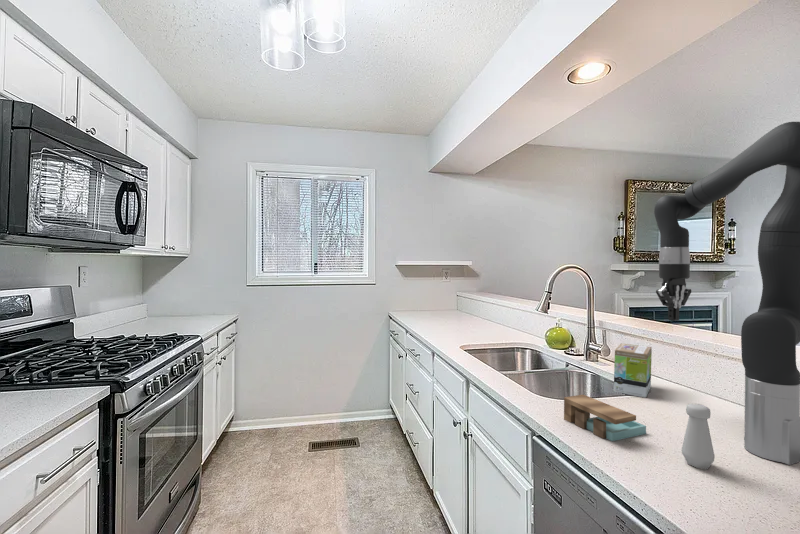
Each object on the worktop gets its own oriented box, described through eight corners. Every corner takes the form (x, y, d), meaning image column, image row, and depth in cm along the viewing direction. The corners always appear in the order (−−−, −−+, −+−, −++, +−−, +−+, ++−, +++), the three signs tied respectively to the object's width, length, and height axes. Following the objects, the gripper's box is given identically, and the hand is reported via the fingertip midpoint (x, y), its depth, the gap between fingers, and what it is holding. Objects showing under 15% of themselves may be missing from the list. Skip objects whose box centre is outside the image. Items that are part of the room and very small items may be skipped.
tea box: (647, 398, 126) (648, 353, 126) (612, 392, 132) (613, 349, 132) (651, 386, 138) (651, 345, 137) (619, 381, 144) (619, 342, 144)
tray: (646, 435, 100) (646, 425, 100) (612, 442, 96) (612, 433, 95) (615, 421, 108) (615, 413, 108) (582, 428, 104) (582, 419, 104)
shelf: (636, 440, 96) (636, 415, 96) (615, 445, 93) (615, 419, 93) (582, 415, 111) (582, 394, 111) (564, 419, 109) (564, 397, 109)
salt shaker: (682, 455, 89) (682, 398, 88) (714, 463, 85) (715, 404, 85) (680, 465, 84) (681, 406, 84) (714, 474, 80) (715, 412, 80)
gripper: (672, 262, 109) (671, 323, 109) (702, 262, 114) (701, 321, 114) (646, 262, 116) (646, 319, 116) (675, 262, 121) (675, 317, 121)
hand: (673, 320), depth 115 cm, fingers closed
